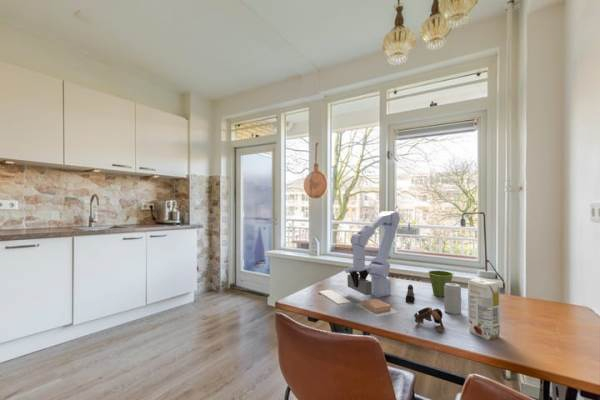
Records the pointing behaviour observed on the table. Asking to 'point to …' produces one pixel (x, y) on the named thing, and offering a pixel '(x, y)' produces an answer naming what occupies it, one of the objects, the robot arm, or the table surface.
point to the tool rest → (334, 297)
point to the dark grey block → (361, 285)
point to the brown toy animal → (427, 314)
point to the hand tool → (410, 294)
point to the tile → (376, 305)
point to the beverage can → (452, 298)
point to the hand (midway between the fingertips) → (359, 286)
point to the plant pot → (439, 281)
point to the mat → (377, 312)
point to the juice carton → (484, 308)
